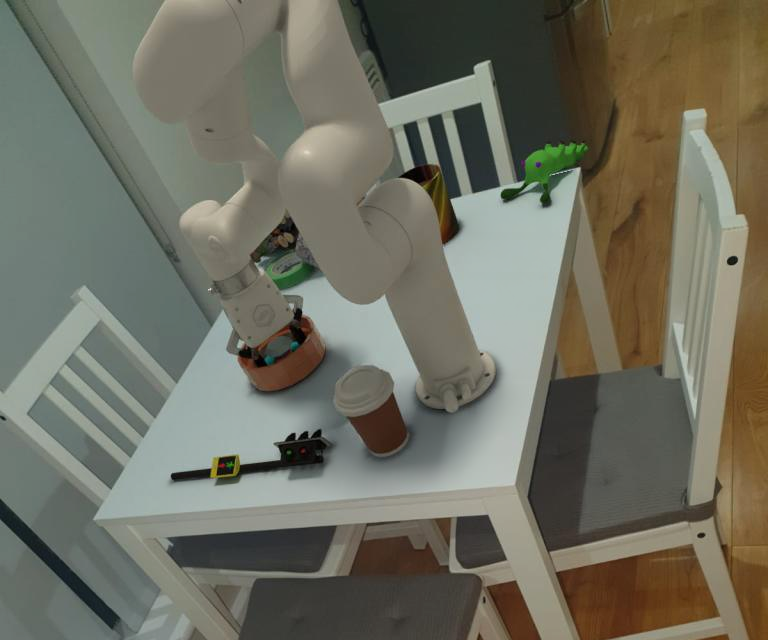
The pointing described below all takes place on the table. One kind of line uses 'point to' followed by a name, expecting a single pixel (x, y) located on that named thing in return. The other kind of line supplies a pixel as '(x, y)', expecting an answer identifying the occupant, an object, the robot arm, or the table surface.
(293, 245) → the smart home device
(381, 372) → the cocoa
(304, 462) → the miniature traffic light
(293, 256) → the tape roll
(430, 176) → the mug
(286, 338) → the ornament
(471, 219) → the table surface
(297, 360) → the bowl
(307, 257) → the stone
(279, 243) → the doll family
